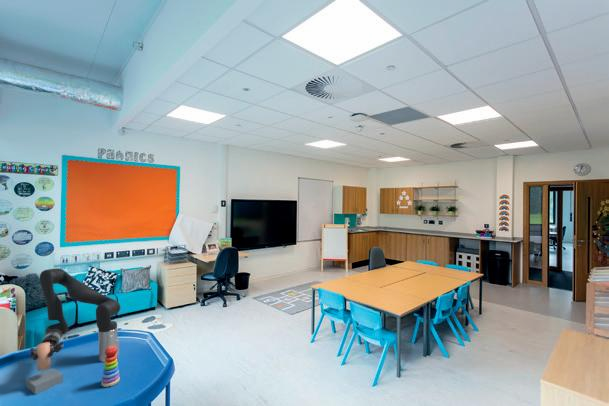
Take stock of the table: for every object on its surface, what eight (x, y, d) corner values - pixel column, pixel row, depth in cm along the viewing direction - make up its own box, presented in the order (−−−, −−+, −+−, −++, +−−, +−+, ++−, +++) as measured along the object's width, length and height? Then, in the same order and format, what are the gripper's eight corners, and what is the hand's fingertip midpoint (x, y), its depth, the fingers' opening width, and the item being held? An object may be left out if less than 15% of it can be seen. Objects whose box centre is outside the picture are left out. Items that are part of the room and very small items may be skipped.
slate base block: (53, 375, 159) (53, 368, 159) (62, 381, 154) (62, 374, 154) (26, 387, 150) (26, 379, 150) (35, 394, 144) (35, 386, 144)
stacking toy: (110, 388, 148) (110, 351, 148) (97, 386, 150) (96, 350, 149) (123, 379, 156) (122, 343, 156) (110, 377, 158) (109, 342, 157)
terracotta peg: (47, 363, 155) (47, 341, 154) (52, 366, 152) (51, 343, 152) (35, 368, 151) (35, 345, 150) (39, 371, 148) (39, 348, 148)
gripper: (33, 338, 160) (22, 353, 145) (66, 332, 167) (60, 345, 152) (33, 351, 160) (23, 368, 145) (67, 345, 167) (60, 360, 153)
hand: (42, 356), depth 149 cm, fingers closed on terracotta peg, 5 cm apart
